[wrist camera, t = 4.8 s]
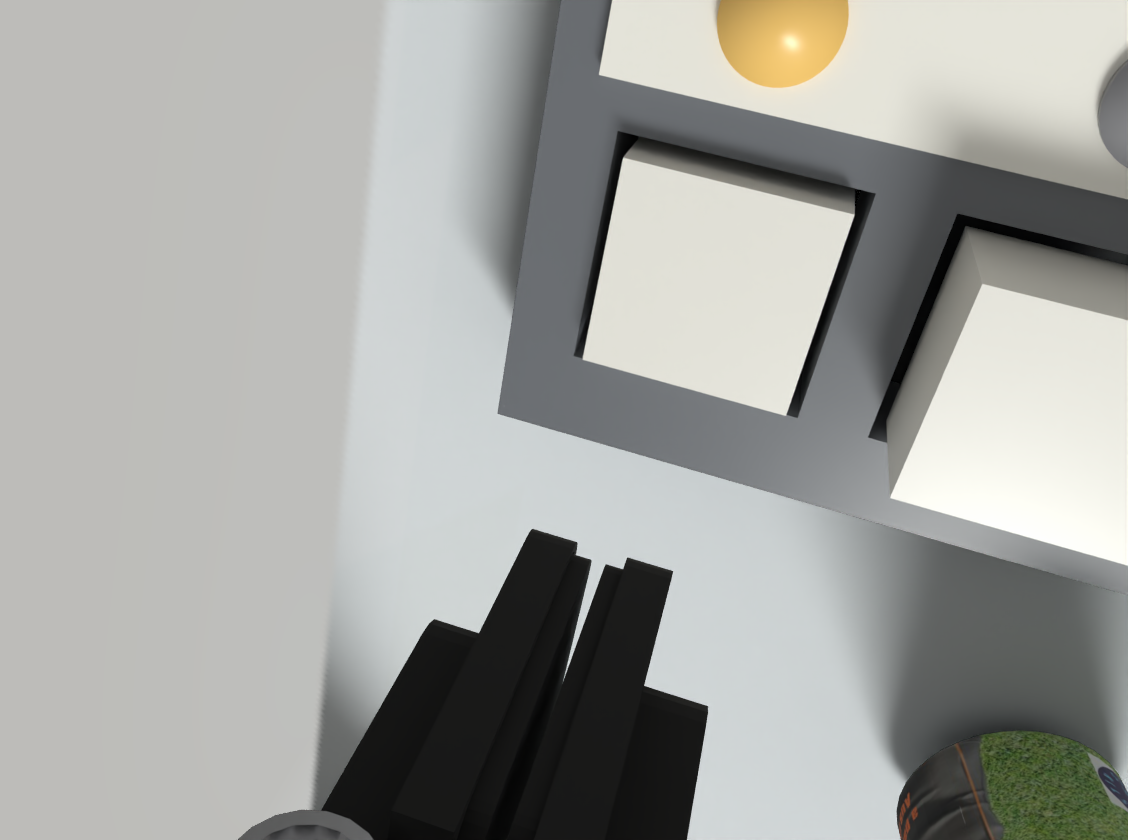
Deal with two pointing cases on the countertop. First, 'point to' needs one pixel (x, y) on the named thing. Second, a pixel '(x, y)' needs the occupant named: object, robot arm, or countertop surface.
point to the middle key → (1020, 397)
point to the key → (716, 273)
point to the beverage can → (1014, 792)
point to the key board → (833, 154)
